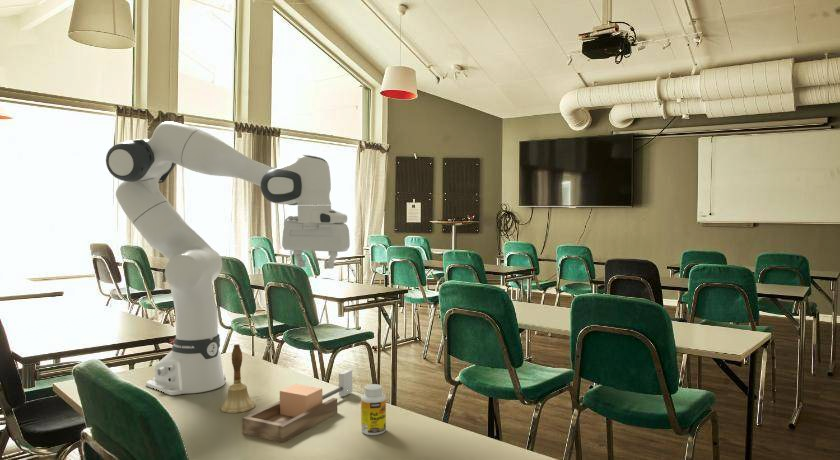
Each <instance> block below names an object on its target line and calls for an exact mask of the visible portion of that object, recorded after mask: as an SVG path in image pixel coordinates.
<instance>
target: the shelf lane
mask: <svg viewBox="0 0 840 460" xmlns="http://www.w3.org/2000/svg"><path fill="white" fill-rule="evenodd" d="M337 413H338V398H335V397H333V398H330V399H328V400H326V401H323V403H322V404H320V405H318V406H316V407H314V408H312V409H310V410H308V411H306V412H304V413H302V414H300V415H299V416H297V417H292V416H287V415H282V414H280V400H278V401H276V402H274V403H271V404H270V405H268V406H265V407H264V408H261V409H259V410H257V411H253V412H252V413H250V414H248V415H247V414H246V416H244V417H242V418H241V422H242V426H241V427H242V428H241V429H242V432H241V433H242V434H244V435H248V436H252V437H253V436H254V437H257V438H260V439H261V438H262V439H265V440H270V441H274V442H279V443H281V444H282V443H286V441H289V440H291V439H292V438H294V437H296V436H298V435H300V434H301V433H304V431H306V430H307V431H308V430H309V429H311V428H312V427H314V426H316V425H318V424H320V423H322V422H323V421H325V420H327V419H328V418H330V417H332V416H334V415H335V414H337Z"/></svg>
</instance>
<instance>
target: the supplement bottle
mask: <svg viewBox="0 0 840 460" xmlns="http://www.w3.org/2000/svg"><path fill="white" fill-rule="evenodd" d="M386 401H387V398H386V394H384V393H383V385H381V384H378V383H377V384H376V383H372V384H367V385H365V386H364V394H362V395H361V397H360V406H361V407H360V414H361V415H360V418H361V421H360V422H361V425H360V430H361V432H362V433H363V434H365V435H367V436H379V435H381V434H383V433H385V431H386V429H387V411H386V410H387V402H386Z"/></svg>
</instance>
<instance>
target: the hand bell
mask: <svg viewBox="0 0 840 460" xmlns="http://www.w3.org/2000/svg"><path fill="white" fill-rule="evenodd" d="M240 346H241V345H240V344H237V343H236V344H234V345H233V348H232V352H231V364H232V367H233V383H232V384H231V385H230V386H228V388H227V389H228V390H227V396H226V400H225V402H224V403H223V404H222V405H221V407H220V411H221V412H223V413H228V414H238V413H244V412H247V411H250V410H253V409H254V408H255V407H256V403H255V402H254V401H253V400H252V399H251V397H250V395H249V393H248V387H247V385H246V384H245V383H242V378H241V376H242V375H241V368H242V363H243V352H242V348H241V347H240Z"/></svg>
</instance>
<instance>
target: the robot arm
mask: <svg viewBox="0 0 840 460" xmlns="http://www.w3.org/2000/svg"><path fill="white" fill-rule="evenodd" d="M105 165H106V168H107V170H108V171H109V173H110V174H111V176H113V177H114V178H116V179H117V180H120V181H122V182H121V183H120V184H119V185H118V186H117V189H116V192H115V197H116V200H117V202H118V204H119V205H120V207H121V209H122V210H123V212H124V214H125V215H126V217H127V218H128V219H129V221H130V222H131V223H132V225H133V226H134V227H135V229H136V230H137V231H138V232H139V233H140V235H141V236H142V237H143V239H145V241H146V242H147V243H148V244H149V246H150V247H152V249H153V250H155V251H157V252H158V253H160V254H161V255H163V256H164V258H165V259H167V260H168V262H167V263H166V266H165V269H164V276H165V280H166V281H167V283H168V285H169V288H170V292H171V293H170V294H171V298H172V301H173V306H174V312H175V316H174V317H175V337H174V338H171V339H169V341H171V342H169V344H170V345H172V347H171V350H170V351H169V352H168V353H167V354H166V355H165V356H164V357H162V359H160V360H159V361H158V362H157V363H156V364H155V368H154V370H155V371H154V377H152V378H151V379H149V380H148V379H147V381H146V382H145V386H146V387H148V388H151V389H153V388H154V390H156V389H157V390H156V391H158V390H159V391H158V392H161V391H162V393H163V392H164V393H163V394H166V395H169V396H177V395H182V394H183V395H185V394H197V393H198V394H199V393H205V392H209V391H214V390H216V389H219V388H221V387H223V386H224V385H225V384H226V381H225V379H226V374H225V373H224V370H223V364H222V363H223V362H222V354H221V351H220V346H221V338H220V333H219V325H218V324H219V323H218V321H219V320H218V319H219V318H218V306H217V304H216V301H215V297H214V296H215V295H214V293H213V285H212V282H214V281H215V280H217V278H218V277H219V275H220V274H221V272H222V269H223V259H222V257H221V255H220V254H219V252H217V251H216V250H214V249H213V248H212V247H211V246H210V245H209V244H208V243H207V242H206V241H205V240H204V238H202V237H201V236H200V235H199V234H198V232H196V231H195V230H194V229H193V228H192V227H191V226H190V225H188V223H187V222H186V221H185V220H184V219H183V218H182V216H181V215H180V214H179V212H177V210H176V208H175V207H173V205H172V204H171V202H169V200H168V199H167V198H166V197H165V196H164V194H163V193H162V192H161V190H160V187H159V184H161V183H164V182H165V181H166V180H167V178H168V176H169V175H170V173H172V171H173V170H174V168H175V167H176V165H178V166H180V167H183V168H185V169H187V170H190V171H192V172H195V173H199V174H203V175H209V176H216V177H217V176H218V177H229V178H230V177H231V178H236V179H241V180H243V181H247V182H249V183H251V184H254V185H256V186H259V187H260V191H261V193H262V196H263V197H264V198H265V199H266V200H267V201H268V202H271V203H273V204H277V205H289V206H297V215H295V216H293V215H289V216H288V217H286V218H285V220H283V231H282V241H281V242H282V243H281V245H282V248H283V250H285V251H293V255H294V258H295V260H296V264H297V265H296V266H297V268H305V267H306V266H307V265H306V260H305V259H303V256H302V255H303V251H310V252H328V256H329V259H328V261H325V262H324V263H325V269H327V270H328V269H329V270H332V269H334V268H335V261H336V259H337V257H338V252H339V253H341V252H347V251H348V250H349V248H350V245H351V242H350V241H351V239H350V230H349V227H348V225H347V224H346V223H348V215H347V214H345V213H342V212H340V211H337V210H335V209H332V202H331V199H330V198H331V197H330V193H331V190H332V189H331V188H332V185H331V184H332V182H331V180H332V179H331V171H330V166H329V162H327V160H325V159H324V158H322V157H318V156H315V155H309V154H302V155H299V156H298V158H296V159H295V160H293V161H291V162H289V163H287V164H285V165H282V166H279V167H272V166H270V165H268V164H265V163H262V162H260V161H257V160H256V159H252V158H251V157H248V156H247V155H245V154H243V153H242V152H239V151H238V150H236V149H235V148H234V147H232V146H230V145H229V144H227V143H226V142H224V141H222V140H221V139H219V138H218V137H216V136H214V135H212V134H210V133H209V132H206V131H204V130H202V129H200V128H197V127H194V126H191V125H187V124H184V123H181V122H176V121H172V120H171V121H164V122H161V123H159V124H158V125H157V126H156V127H155V129H154V130H153V133H152V135H151V137H150V138H138V139H132V140H124V141H121V142H119V143H116V144H115V145H113V146H111V147H110V149H108V151H107V153H106V157H105Z"/></svg>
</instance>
